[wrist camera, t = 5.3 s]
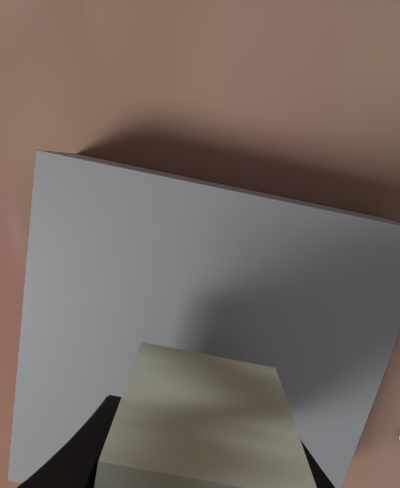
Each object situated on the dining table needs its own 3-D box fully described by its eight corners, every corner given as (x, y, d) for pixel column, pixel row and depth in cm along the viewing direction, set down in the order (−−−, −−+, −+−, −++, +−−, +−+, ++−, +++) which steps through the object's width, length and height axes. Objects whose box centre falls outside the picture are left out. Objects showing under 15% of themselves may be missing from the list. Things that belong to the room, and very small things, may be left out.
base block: (384, 218, 17) (437, 233, 13) (300, 467, 21) (322, 537, 17) (76, 153, 17) (36, 150, 13) (45, 420, 20) (7, 480, 16)
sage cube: (275, 368, 12) (321, 501, 7) (244, 475, 13) (266, 653, 9) (141, 341, 12) (98, 461, 7) (121, 453, 13) (72, 621, 8)
